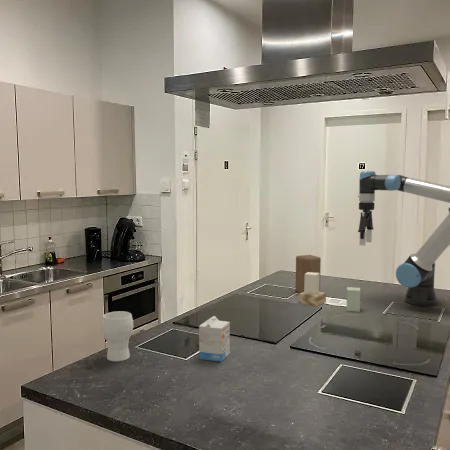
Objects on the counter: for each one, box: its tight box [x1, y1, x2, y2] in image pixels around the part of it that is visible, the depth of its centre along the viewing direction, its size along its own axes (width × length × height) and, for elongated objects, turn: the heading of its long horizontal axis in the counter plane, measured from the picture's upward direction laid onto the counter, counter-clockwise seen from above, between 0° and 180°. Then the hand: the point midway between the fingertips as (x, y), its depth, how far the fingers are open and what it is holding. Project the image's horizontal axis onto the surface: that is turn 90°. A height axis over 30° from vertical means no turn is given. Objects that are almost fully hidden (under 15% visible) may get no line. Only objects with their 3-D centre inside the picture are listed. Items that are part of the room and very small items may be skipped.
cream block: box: [304, 272, 321, 295], centre depth 231 cm, size 6×6×10 cm
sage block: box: [345, 286, 361, 313], centre depth 218 cm, size 6×6×10 cm
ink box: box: [198, 315, 231, 362], centre depth 161 cm, size 9×8×13 cm
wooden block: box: [295, 254, 322, 294], centre depth 251 cm, size 10×10×20 cm
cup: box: [101, 310, 134, 362], centre depth 160 cm, size 11×11×15 cm
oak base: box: [298, 291, 327, 307], centre depth 232 cm, size 10×10×5 cm
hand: (365, 243), depth 235 cm, fingers open, 13 cm apart
